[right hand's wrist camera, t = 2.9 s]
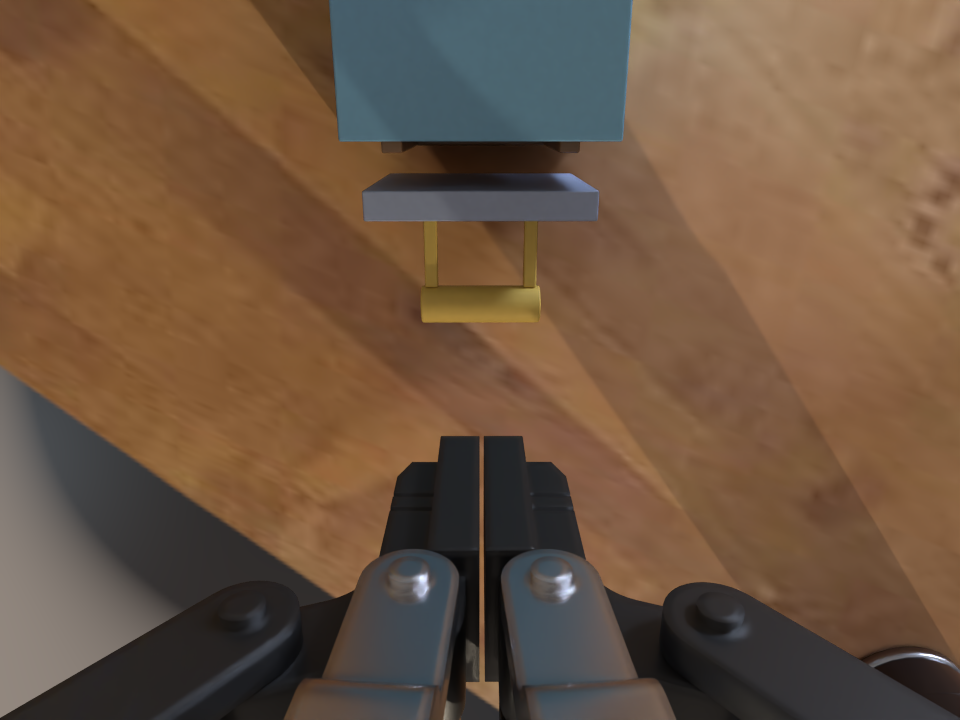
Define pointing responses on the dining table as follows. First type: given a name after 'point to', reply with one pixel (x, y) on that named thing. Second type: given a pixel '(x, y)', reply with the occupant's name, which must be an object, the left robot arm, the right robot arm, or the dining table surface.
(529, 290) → the drawer
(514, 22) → the cabinet
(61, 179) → the dining table surface
